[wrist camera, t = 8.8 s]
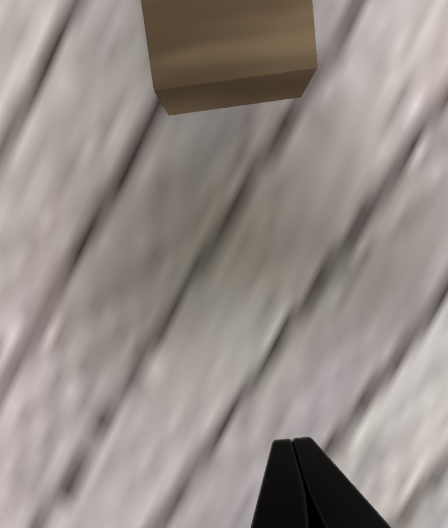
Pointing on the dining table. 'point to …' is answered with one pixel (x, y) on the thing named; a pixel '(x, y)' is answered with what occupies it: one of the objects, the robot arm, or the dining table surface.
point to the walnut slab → (228, 51)
